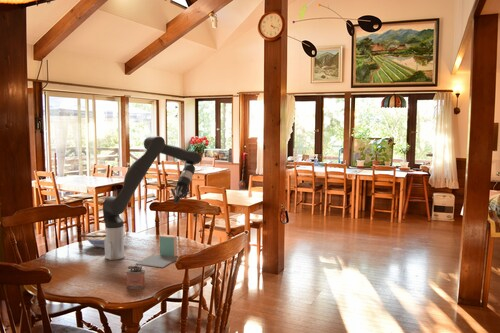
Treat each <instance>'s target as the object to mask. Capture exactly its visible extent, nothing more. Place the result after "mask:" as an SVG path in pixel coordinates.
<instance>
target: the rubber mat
mask: <svg viewBox="0 0 500 333" xmlns="http://www.w3.org/2000/svg"><path fill="white" fill-rule="evenodd" d="M177 258H179V257H177V256H175V257H170V256H163V255H160V254H154V253H153V254H151V255H149V256H147V257H146V258H144V259H142V260H139V261H138V262H136V263H135V265H138V266H142V267H143V266H144V267H153V268H160V269H164V268H166V267H167V266H169V265H170V264H172V263H174V262H176V261H177V260H178V259H177ZM176 259H177V260H176Z"/></svg>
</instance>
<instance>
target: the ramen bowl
mask: <svg viewBox="0 0 500 333" xmlns="http://www.w3.org/2000/svg"><path fill="white" fill-rule="evenodd" d="M126 235H127V232H126V231H125V230H124V238H125V236H126ZM78 237H79V238H86V239H87V242H89V243H90V244H91V245H93V246H95V247H98V248H101V249H105V246H104V241H106V229H101V230H100V229H99V230H96V231H92V232H89V233H87V234H80V235H78Z"/></svg>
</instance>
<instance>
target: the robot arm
mask: <svg viewBox="0 0 500 333" xmlns="http://www.w3.org/2000/svg"><path fill="white" fill-rule="evenodd" d="M143 146H144V149H145V152H144V153H143V154H142V155H141V156H140V157H139V158H138V159H136V160H135V161H134V162H133V163H132V164H131V165H130V167H129V168H128V170H127V171H126V173H125V176H124V179H123V185H122V187H121V190H120V192H119V193H118V194H117V196H107V197H106V198H105V199H104V200H103V203H102V215H103V217H102V218H103V222H104V225H105V230H106V241H104V246H105V248H104V259H106V260H108V261H109V260H110V261H117V260H121V259H124V258H125V237H124V231H125V229H124V228H125V227H124V220H123V219H122V218H121V216H120V215H121V214H123V213H124V212H125V211H126V209H127V206H128V205H129V203H130V201H131V198H132V197H133V195H134V193H135V192H136V190H137V188H138V187H139V185H140V184H141V182H142V181H143V179H144V178H145V176H146V175H147V172H148V171H149V170H150V168H151V167H152V164H153V163H154V162H155V161H156V159H157V158H158V157H159V156H160V154H162V155H165V156H168V157H171V158H173V159H175V160H178V161H179V160H180V161H182V162H184V165H183V166H184V167H183V169H182V172H181V173H180V175H179V177H178V180H177V182H176V185H175V187H174V188H170V191H171V194H172V195H173V197H174V199H173V203H174V204H179V202H180V200H181V199H184V198H185V197H187V196H188V195H190V194H191V190H190V189H189V188H190V185H191V182H192V180H193V178H194V177H193V176H194V174H195V172H196V167H195V165H198V164H200V163H201V162H202V155H201V154H200V153H199V152H198V151H197V152H196V151H191V150H187V149H183V148H182V147H178V146H175V145H170V144H166V142H165V138H163V137H162V136H159V135H150V136H148V137H146V138H145V139H144V140H143Z"/></svg>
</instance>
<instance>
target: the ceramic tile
mask: <svg viewBox="0 0 500 333" xmlns="http://www.w3.org/2000/svg"><path fill="white" fill-rule="evenodd" d="M177 239H178V236H177V235H170V234H161V235H159V255H163V256H170V257H177V256H178V240H177Z"/></svg>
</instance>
